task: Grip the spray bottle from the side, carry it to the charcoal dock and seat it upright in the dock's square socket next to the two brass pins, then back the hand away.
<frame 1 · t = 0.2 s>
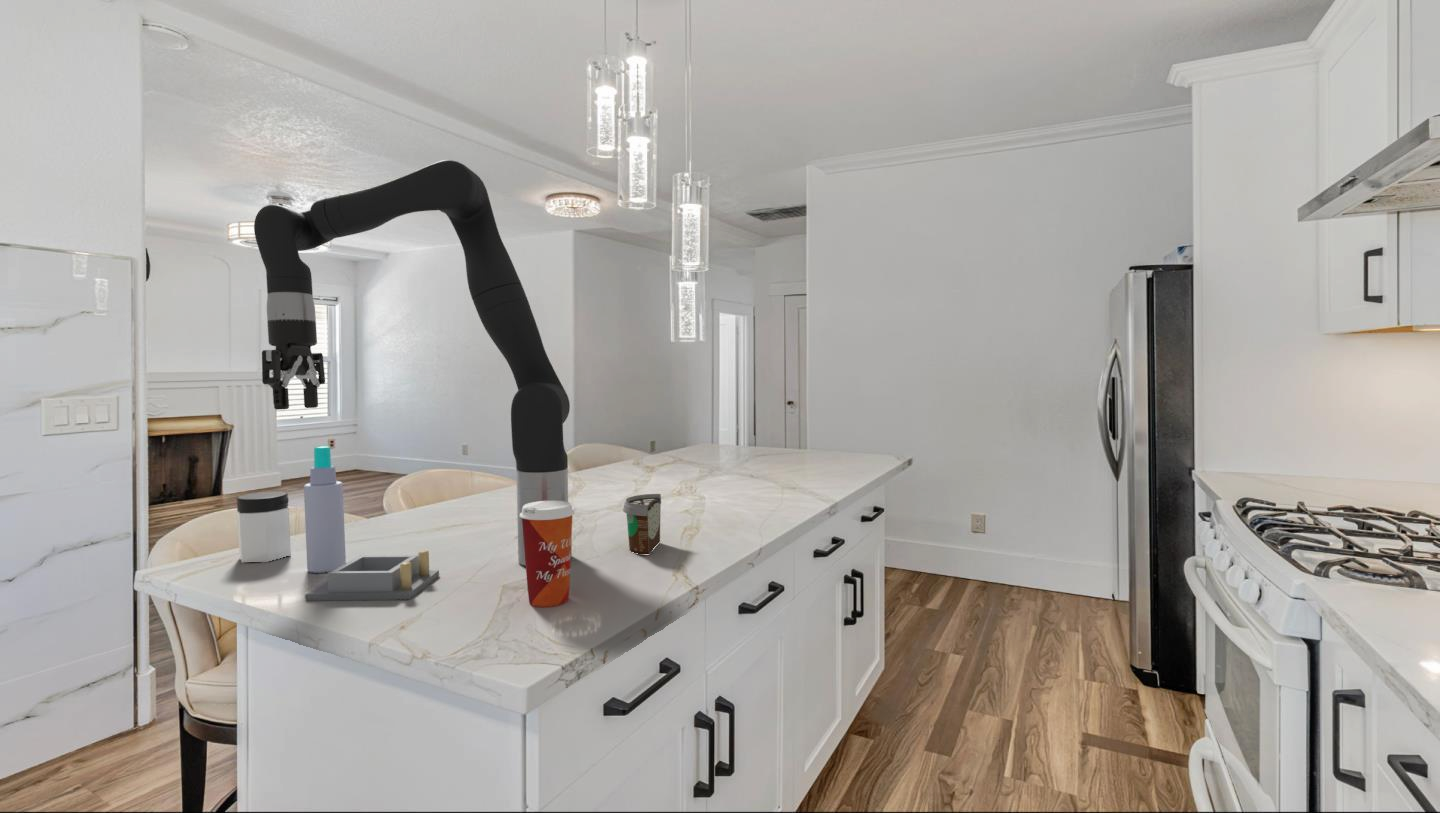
hand: (297, 408, 126), 29 cm above the counter, tool pointing down, fingers open, 8 cm apart
food container: (639, 549, 137), on the counter
jar: (265, 558, 132), on the counter
coffee cup: (549, 601, 107), on the counter
dock: (375, 587, 114), on the counter
spray bottle: (326, 569, 124), on the counter
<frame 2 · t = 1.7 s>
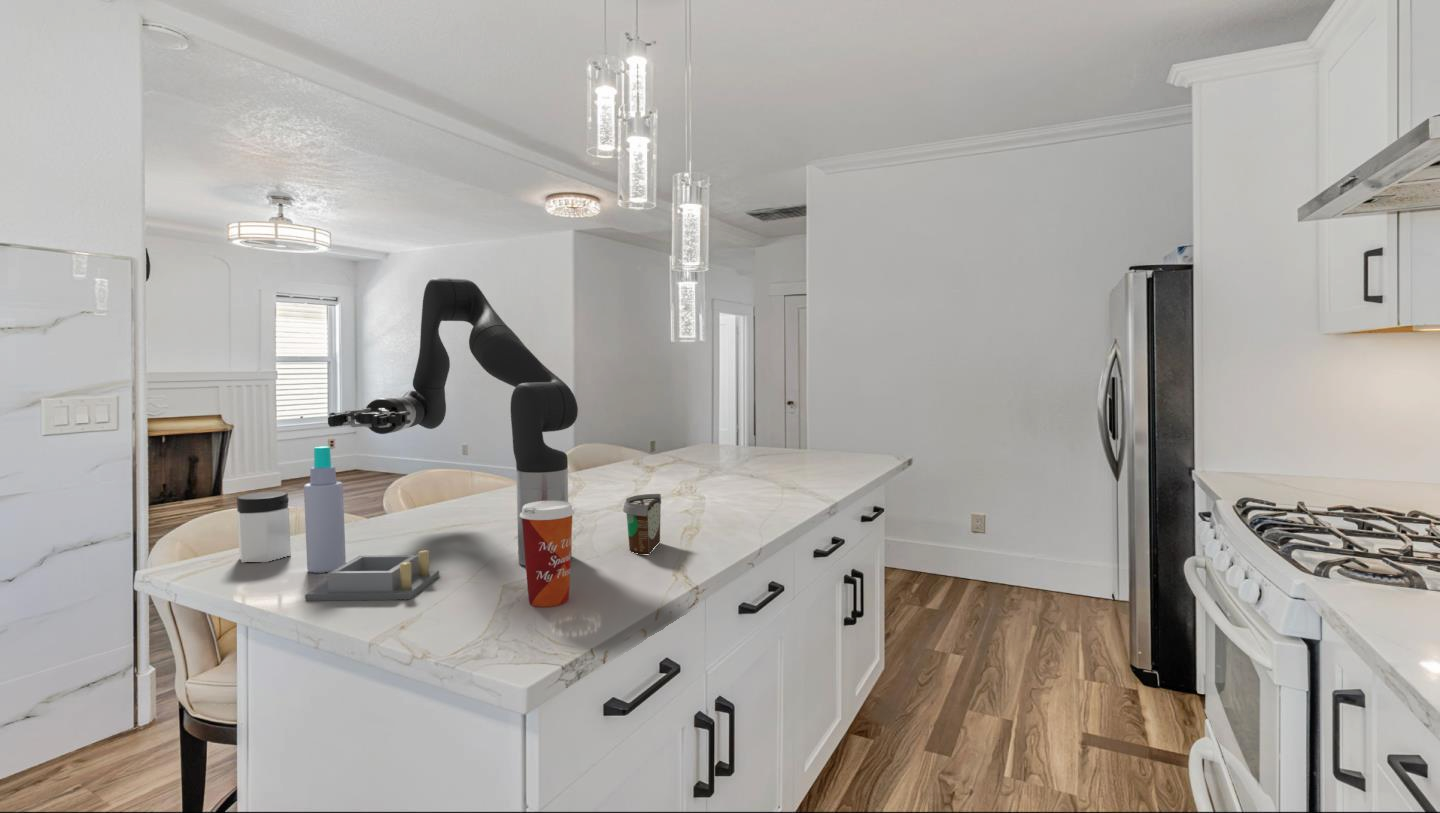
hand: (352, 421, 134), 26 cm above the counter, tool horizontal, fingers open, 8 cm apart
nothing on the counter moved.
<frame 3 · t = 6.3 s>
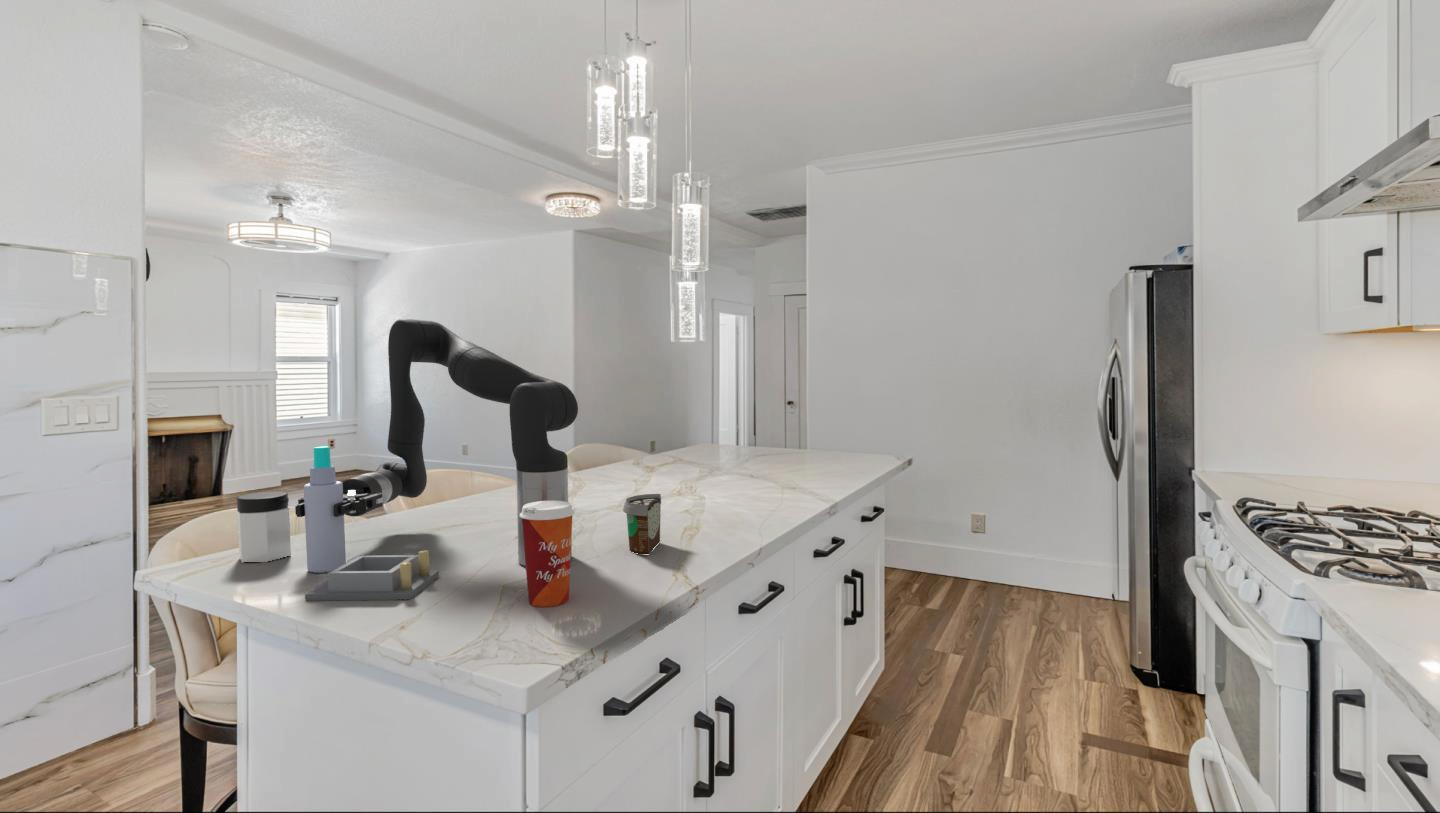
hand: (317, 511, 121), 11 cm above the counter, tool horizontal, fingers closed on spray bottle, 6 cm apart
spray bottle: (327, 569, 124), on the counter, touching gripper
everything else where it was.
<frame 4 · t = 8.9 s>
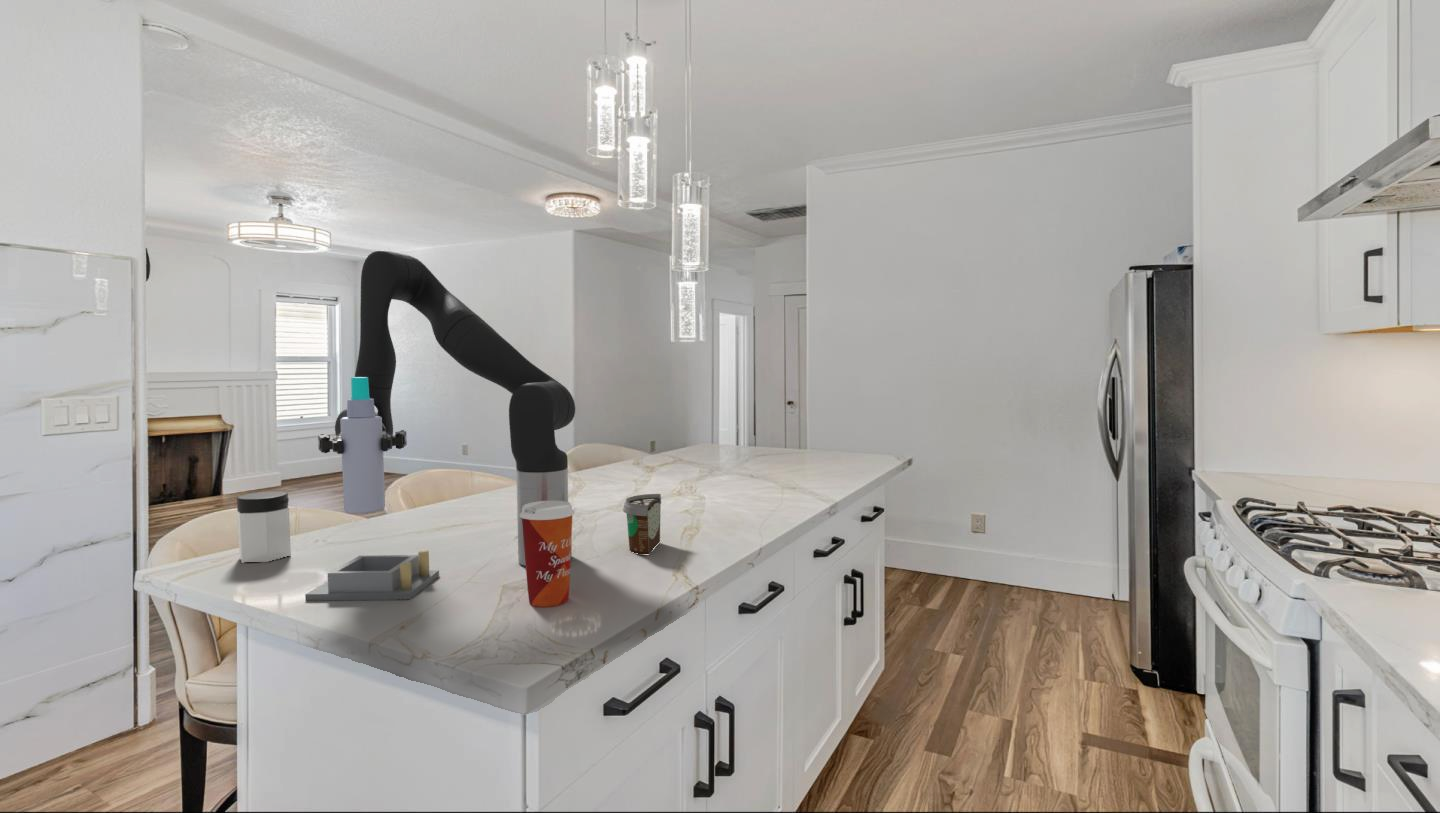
hand: (362, 446, 111), 24 cm above the counter, tool horizontal, fingers closed on spray bottle, 6 cm apart
spray bottle: (365, 511, 114), point 12 cm above the counter, touching gripper
everything else where it was.
when the fingers open (13 cm above the counter, at t = 11.6 s): spray bottle drops 1 cm, resting on dock.
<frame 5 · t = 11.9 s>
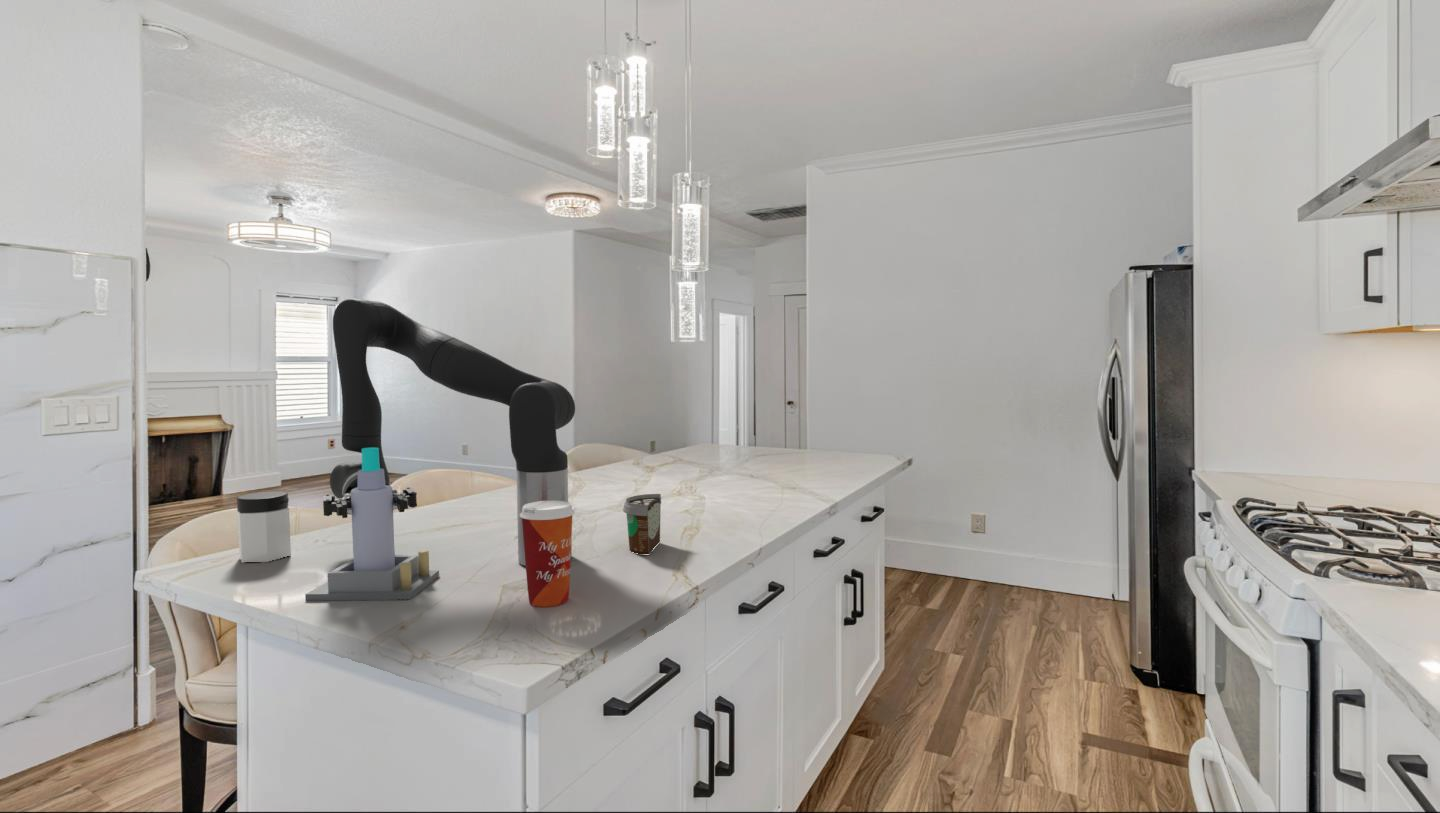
hand: (374, 508, 111), 13 cm above the counter, tool horizontal, fingers open, 8 cm apart
spray bottle: (375, 582, 114), point 1 cm above the counter, touching dock
everything else where it was.
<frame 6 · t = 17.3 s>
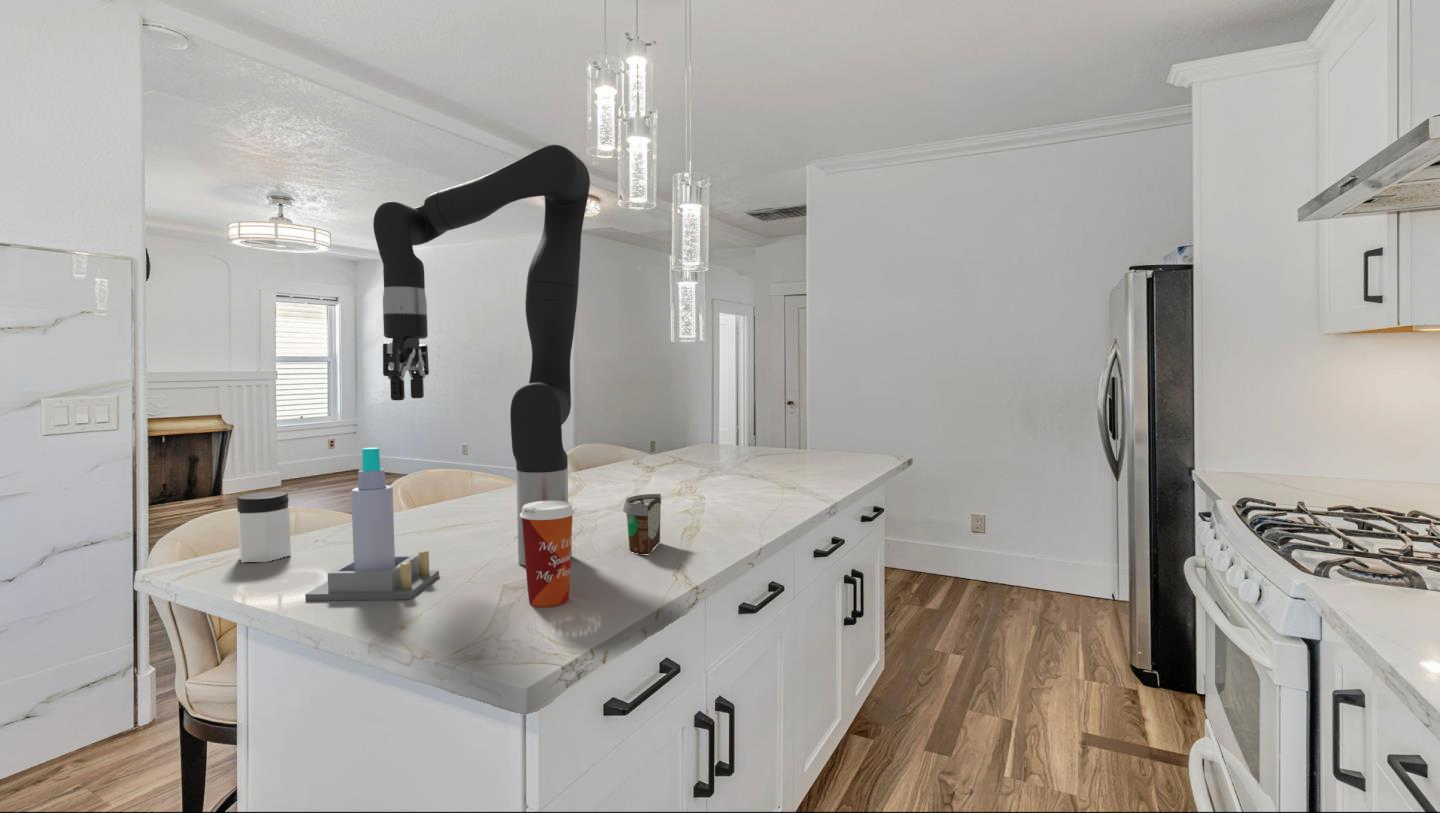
hand: (408, 399, 131), 30 cm above the counter, tool pointing down, fingers open, 8 cm apart
nothing on the counter moved.
at the end: spray bottle 0.1 cm off-centre on the dock, point 0.8 cm above the dock's base; spray bottle tilted 0°; the gripper is holding nothing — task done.
